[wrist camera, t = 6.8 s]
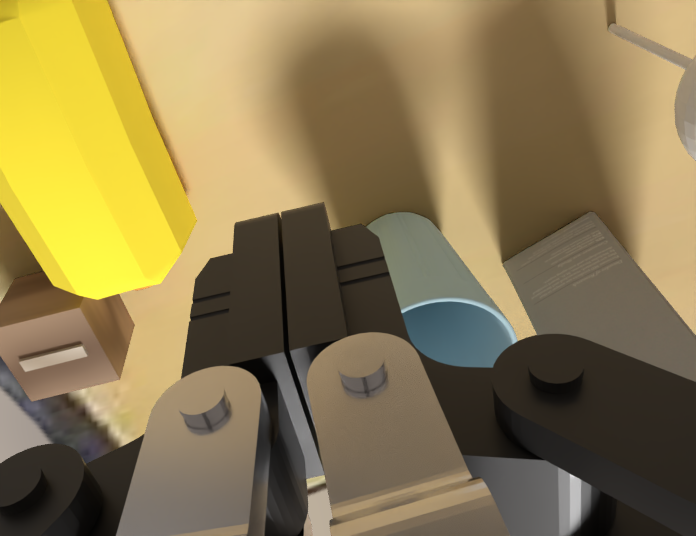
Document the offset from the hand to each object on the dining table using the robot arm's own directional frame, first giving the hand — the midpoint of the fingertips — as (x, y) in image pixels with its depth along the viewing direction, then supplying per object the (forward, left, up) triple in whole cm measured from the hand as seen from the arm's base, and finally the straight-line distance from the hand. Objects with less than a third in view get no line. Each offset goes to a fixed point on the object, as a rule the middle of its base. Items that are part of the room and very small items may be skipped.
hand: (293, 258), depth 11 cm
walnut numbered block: (+13, -16, -24) cm, 31 cm away
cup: (+15, +3, -24) cm, 28 cm away
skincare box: (+20, +13, -24) cm, 34 cm away
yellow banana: (+3, -11, -24) cm, 26 cm away
